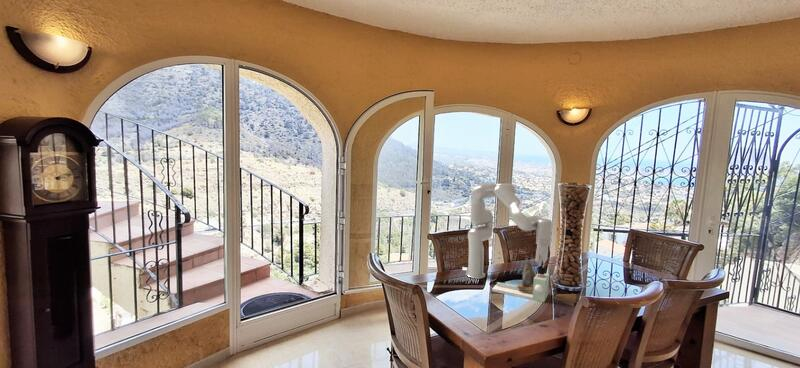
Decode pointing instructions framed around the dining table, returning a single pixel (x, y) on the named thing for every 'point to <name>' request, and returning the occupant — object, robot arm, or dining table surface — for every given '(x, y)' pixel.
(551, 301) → the dining table surface
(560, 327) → the dining table surface
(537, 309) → the dining table surface
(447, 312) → the dining table surface
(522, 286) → the carriage
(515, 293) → the rail base
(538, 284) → the gauge cabinet
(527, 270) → the worn brown figurine
